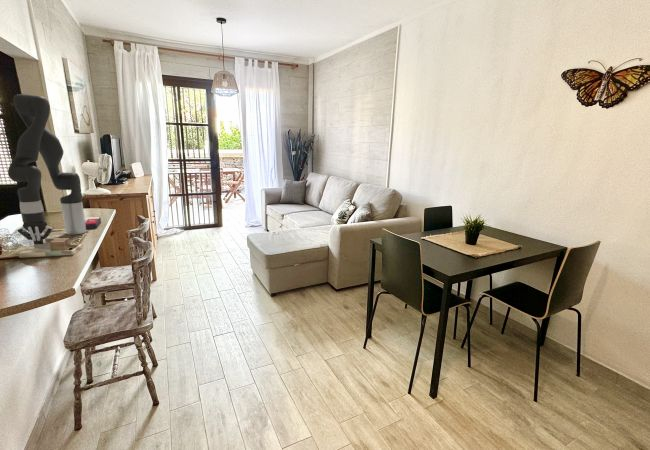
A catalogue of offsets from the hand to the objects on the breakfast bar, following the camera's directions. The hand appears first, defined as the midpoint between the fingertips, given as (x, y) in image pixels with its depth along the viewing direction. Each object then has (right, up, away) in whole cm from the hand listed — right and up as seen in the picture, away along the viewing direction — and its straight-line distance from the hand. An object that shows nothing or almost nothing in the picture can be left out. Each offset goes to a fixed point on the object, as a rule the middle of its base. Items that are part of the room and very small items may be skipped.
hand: (39, 247), depth 146 cm
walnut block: (+8, 0, +2) cm, 8 cm away
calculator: (-12, +9, +46) cm, 48 cm away
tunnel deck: (+4, -2, +2) cm, 5 cm away
